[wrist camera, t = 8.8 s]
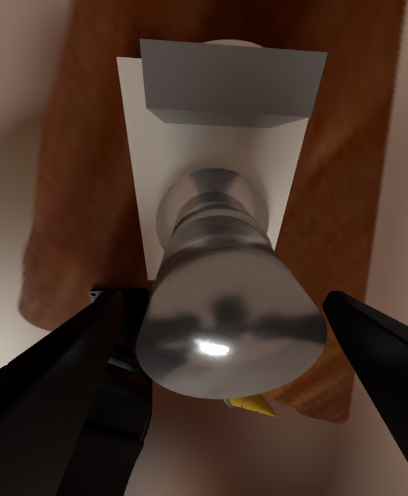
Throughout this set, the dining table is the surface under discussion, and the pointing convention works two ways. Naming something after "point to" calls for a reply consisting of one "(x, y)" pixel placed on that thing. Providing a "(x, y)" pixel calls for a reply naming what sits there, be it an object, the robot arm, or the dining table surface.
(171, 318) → the silver flared knob
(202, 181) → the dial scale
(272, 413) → the yellow spiral cone
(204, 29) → the dining table surface
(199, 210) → the silver round piece
